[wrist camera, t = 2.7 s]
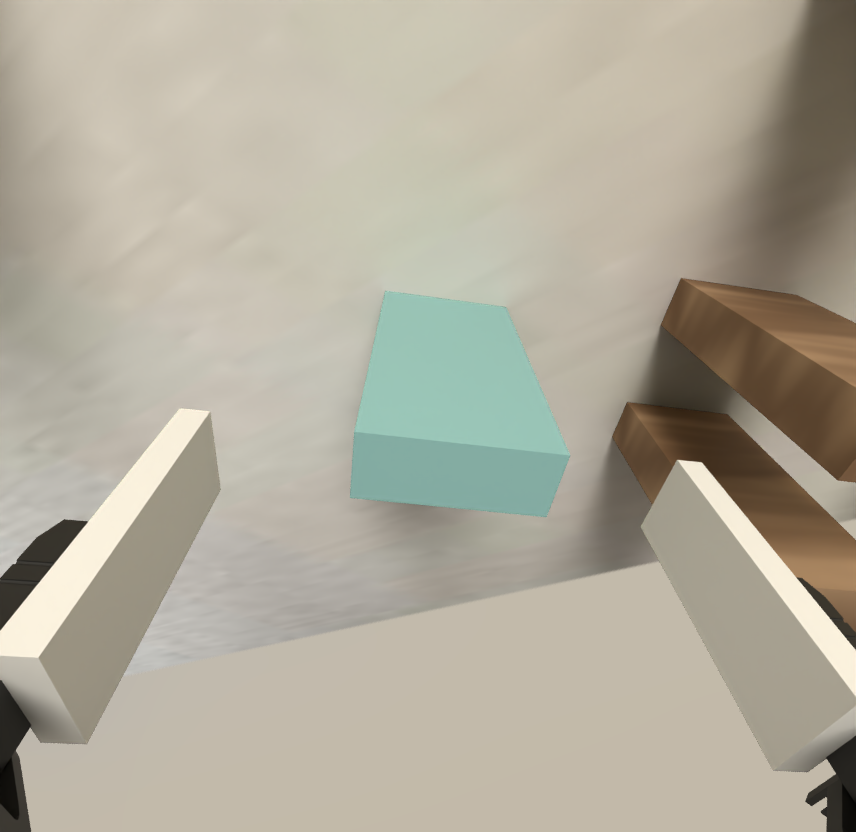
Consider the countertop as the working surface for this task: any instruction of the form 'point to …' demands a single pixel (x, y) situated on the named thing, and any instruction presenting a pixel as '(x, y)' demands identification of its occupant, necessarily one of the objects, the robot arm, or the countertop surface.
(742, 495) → the domino
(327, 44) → the countertop surface
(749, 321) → the domino
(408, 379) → the domino
